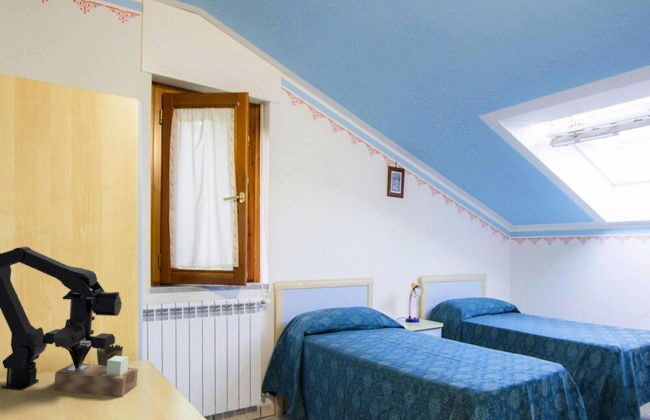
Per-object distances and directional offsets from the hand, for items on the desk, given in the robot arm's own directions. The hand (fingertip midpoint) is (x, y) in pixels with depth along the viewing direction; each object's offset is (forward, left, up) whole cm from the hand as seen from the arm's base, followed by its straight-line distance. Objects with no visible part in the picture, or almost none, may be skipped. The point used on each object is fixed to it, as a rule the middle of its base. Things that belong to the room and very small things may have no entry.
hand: (77, 368), depth 127 cm
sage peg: (+12, 0, -1) cm, 12 cm away
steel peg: (0, 0, -5) cm, 5 cm away
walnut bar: (+6, 0, -5) cm, 8 cm away
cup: (+3, +11, -5) cm, 13 cm away
